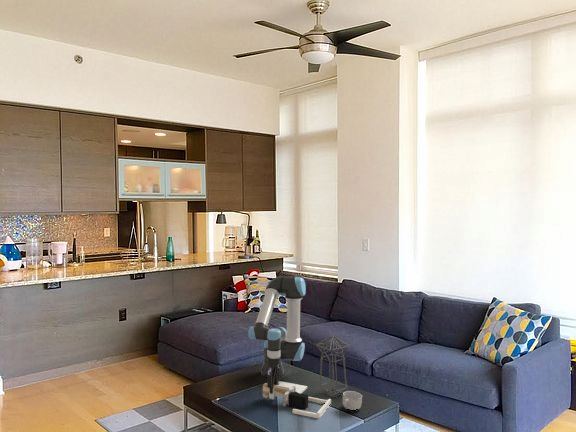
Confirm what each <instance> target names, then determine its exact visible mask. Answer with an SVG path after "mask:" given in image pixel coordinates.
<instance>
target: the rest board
mask: <svg viewBox="0 0 576 432" xmlns="http://www.w3.org/2000/svg"><path fill="white" fill-rule="evenodd" d="M277 386H283V387H288V388H289V389H290V388H292V387H293V386H295V387H296V391H295V392H298V393H301V394H304V392H305V391H306V390H307V389H308V386H307V385H301V384H299V383H298V384H297V383H291V382H287V381H280V380H279V385H277Z"/></svg>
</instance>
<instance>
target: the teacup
mask: <svg viewBox="0 0 576 432" xmlns="http://www.w3.org/2000/svg"><path fill="white" fill-rule="evenodd" d="M362 403H363V394H361V393H359V392H357V391H355V390H354V391H353V390H346V391H343V395H342V406H343V407H344V408H345V409H346V410H347V409H350V410H356V409H358V410H359V409H361V407H362ZM356 411H357V410H356Z"/></svg>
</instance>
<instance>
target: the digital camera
mask: <svg viewBox="0 0 576 432" xmlns="http://www.w3.org/2000/svg"><path fill="white" fill-rule="evenodd" d="M308 397H309V394H305V393H302V394H301V393H298V392H291V393H289V394H288V404H287V407H289V408H293V409H298V410H303V411H307V409H308V408H309V401H308Z"/></svg>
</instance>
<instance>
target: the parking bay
mask: <svg viewBox="0 0 576 432" xmlns="http://www.w3.org/2000/svg"><path fill="white" fill-rule="evenodd" d="M311 401H312V403H316V402H319V403H318V404H321V403H325V404H323V405H322V406H321V407H320V409H318V410H317V412H312V411H307V410H303V409H298V408H293V409H292V414H295V415H300V416H305V417H309V418H315V419H320V418H321V417H322V416H323V415H324V414H325V413H326V411H327V410H328V409H329V407H330V406H331V405H332V399H331V398H328V399H322V398H317V397H311V396H308V402H311ZM330 404H331V405H330ZM329 405H330V406H329ZM327 408H328V409H327ZM326 409H327V410H326Z"/></svg>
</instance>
